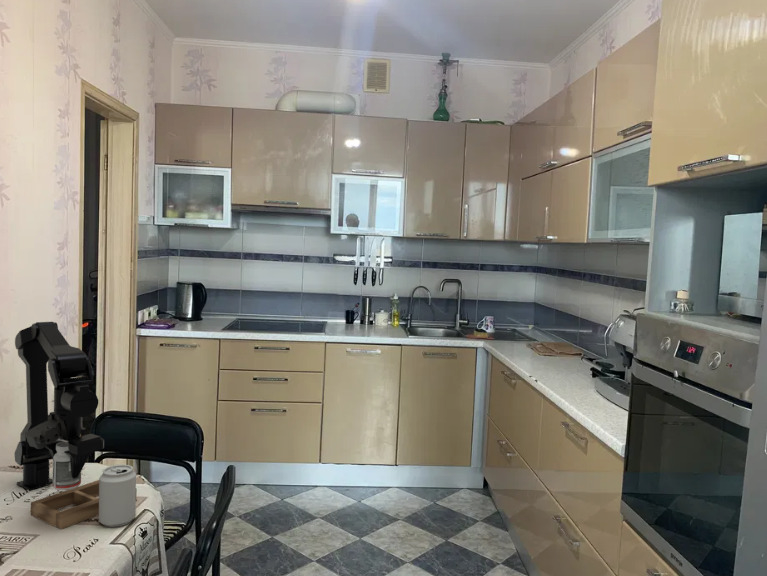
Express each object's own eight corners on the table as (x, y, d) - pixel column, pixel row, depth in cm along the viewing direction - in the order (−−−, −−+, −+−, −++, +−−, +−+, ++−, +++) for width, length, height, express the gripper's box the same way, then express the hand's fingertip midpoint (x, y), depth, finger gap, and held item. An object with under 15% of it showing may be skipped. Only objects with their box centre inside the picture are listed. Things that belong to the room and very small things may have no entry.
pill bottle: (86, 484, 133) (87, 442, 132) (63, 493, 128) (64, 449, 127) (69, 479, 135) (71, 437, 135) (46, 487, 130) (47, 444, 130)
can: (121, 530, 125) (122, 476, 124) (90, 526, 126) (91, 472, 126) (142, 516, 132) (143, 464, 132) (113, 512, 134) (114, 461, 133)
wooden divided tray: (30, 515, 131) (30, 502, 130) (106, 489, 146) (106, 477, 146) (61, 529, 124) (61, 515, 124) (136, 500, 140) (136, 488, 140)
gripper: (8, 407, 128) (7, 476, 129) (56, 422, 119) (55, 496, 120) (58, 398, 138) (57, 462, 139) (106, 411, 128) (104, 480, 129)
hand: (67, 474), depth 131 cm, fingers closed on pill bottle, 6 cm apart
